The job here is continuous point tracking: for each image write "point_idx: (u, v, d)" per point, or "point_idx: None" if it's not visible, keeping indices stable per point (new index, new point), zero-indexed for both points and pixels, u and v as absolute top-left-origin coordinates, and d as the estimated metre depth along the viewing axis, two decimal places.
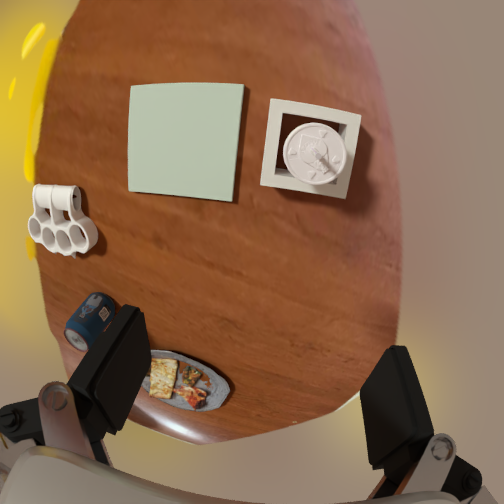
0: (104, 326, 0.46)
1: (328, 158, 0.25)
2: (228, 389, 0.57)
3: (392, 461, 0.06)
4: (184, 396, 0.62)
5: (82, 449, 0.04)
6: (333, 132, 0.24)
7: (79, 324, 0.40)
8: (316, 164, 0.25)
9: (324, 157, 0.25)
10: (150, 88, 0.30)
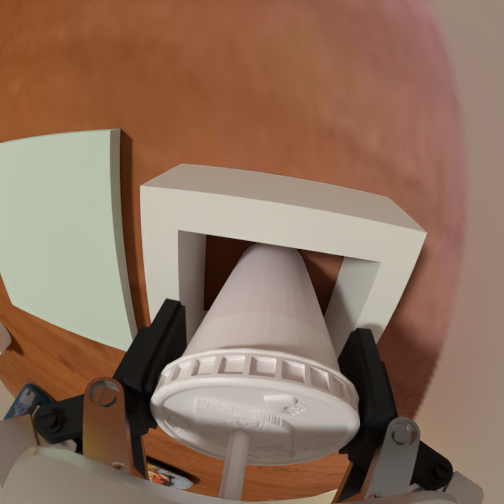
0: None
1: (292, 444, 0.07)
2: (191, 483, 0.39)
3: (355, 444, 0.07)
4: None
5: (122, 450, 0.05)
6: (323, 402, 0.05)
7: None
8: (254, 451, 0.07)
9: (279, 445, 0.07)
10: None
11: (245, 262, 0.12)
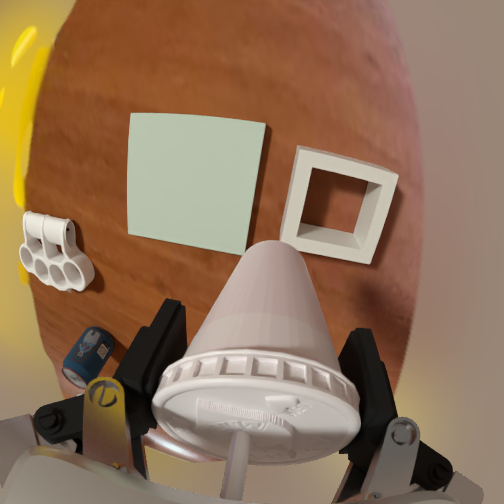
0: (103, 363, 0.42)
1: (293, 444, 0.07)
2: None
3: (354, 444, 0.07)
4: None
5: (122, 450, 0.05)
6: (325, 402, 0.05)
7: (77, 364, 0.37)
8: (255, 451, 0.07)
9: (281, 445, 0.07)
10: (153, 118, 0.27)
11: (246, 263, 0.12)
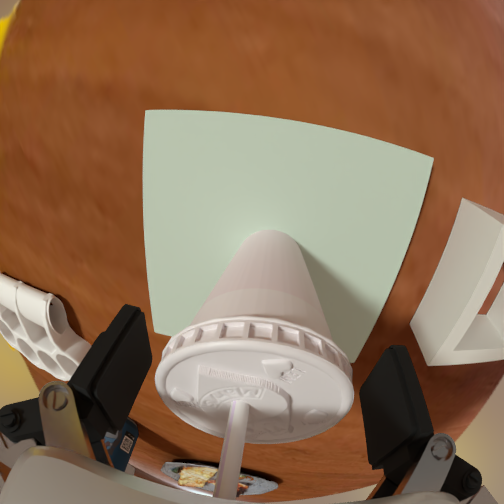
0: (129, 457, 0.28)
1: (290, 416, 0.08)
2: (276, 486, 0.39)
3: (392, 461, 0.06)
4: None
5: (82, 449, 0.04)
6: (317, 366, 0.06)
7: None
8: (254, 425, 0.08)
9: (278, 417, 0.07)
10: (200, 123, 0.13)
11: (244, 249, 0.13)
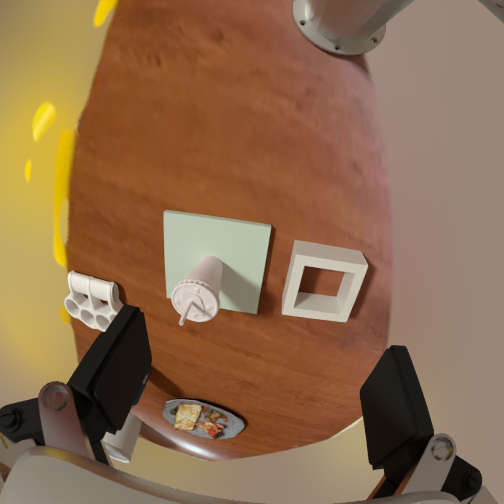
0: (144, 387, 0.55)
1: (203, 306, 0.34)
2: (243, 425, 0.66)
3: (392, 461, 0.06)
4: (204, 428, 0.71)
5: (82, 449, 0.04)
6: (204, 289, 0.33)
7: None
8: (195, 310, 0.35)
9: (200, 306, 0.34)
10: (183, 219, 0.40)
11: (199, 263, 0.40)
